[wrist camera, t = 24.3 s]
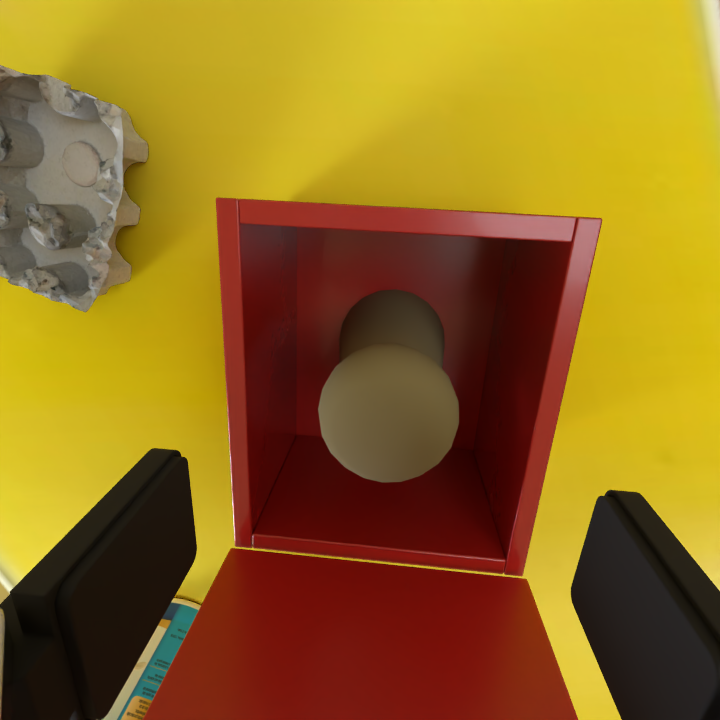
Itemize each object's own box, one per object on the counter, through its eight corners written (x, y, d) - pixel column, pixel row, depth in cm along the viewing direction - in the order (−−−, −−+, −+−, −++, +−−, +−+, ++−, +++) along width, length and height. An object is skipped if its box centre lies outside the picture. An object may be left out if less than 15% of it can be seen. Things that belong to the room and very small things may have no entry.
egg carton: (31, 67, 23) (-44, 37, 19) (168, 124, 23) (122, 107, 19) (9, 260, 26) (-58, 269, 22) (129, 308, 27) (83, 324, 23)
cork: (319, 324, 25) (263, 405, 15) (410, 268, 24) (420, 314, 13) (374, 407, 26) (359, 534, 16) (464, 358, 25) (510, 465, 15)
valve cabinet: (286, 201, 24) (215, 197, 15) (521, 214, 23) (603, 218, 14) (287, 438, 29) (234, 547, 19) (481, 454, 28) (523, 577, 19)
